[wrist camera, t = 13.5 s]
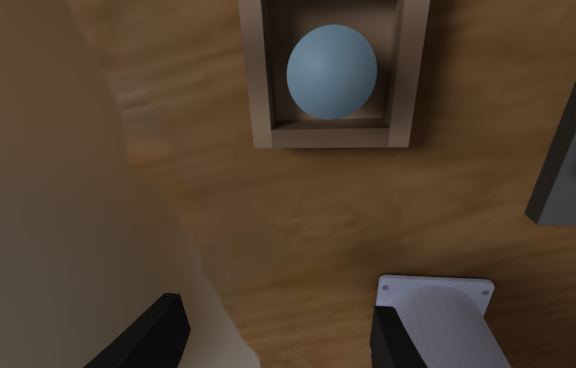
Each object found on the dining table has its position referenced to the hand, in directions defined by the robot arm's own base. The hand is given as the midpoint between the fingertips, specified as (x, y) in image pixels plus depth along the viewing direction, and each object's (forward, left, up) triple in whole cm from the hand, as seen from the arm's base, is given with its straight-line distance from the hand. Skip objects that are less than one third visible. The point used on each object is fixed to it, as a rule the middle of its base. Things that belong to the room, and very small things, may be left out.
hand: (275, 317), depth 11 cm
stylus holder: (+8, -2, -10) cm, 13 cm away
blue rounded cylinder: (+8, -2, -9) cm, 12 cm away
